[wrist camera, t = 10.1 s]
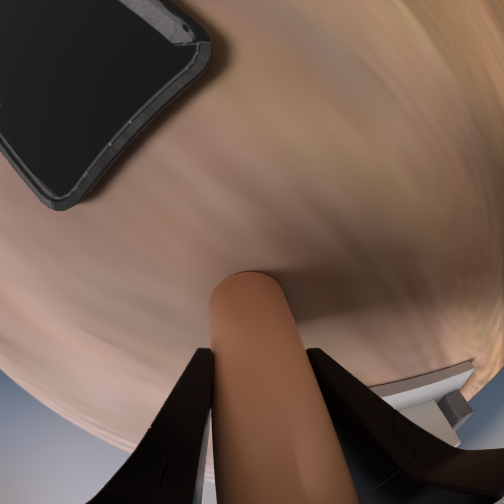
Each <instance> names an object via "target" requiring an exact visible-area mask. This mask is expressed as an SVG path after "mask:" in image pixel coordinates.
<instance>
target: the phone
mask: <svg viewBox="0 0 504 504" xmlns="http://www.w3.org/2000/svg"><path fill="white" fill-rule="evenodd" d="M211 54H212V48H211V43H210V39H209V36H208V35H207V33H206V32H205V31H204V29H203V28H202V27H201V26H199V25H198V24H197V23H196V22H195V21H194V20H193V19H191V18H190V17H189V16H188V15H187V14H185V13H184V12H183V11H182V10H181V9H179V8H178V7H177V6H176V5H174V4H173V3H172V2H171V1H169V0H0V151H1V152H2V154H3V155H4V156H5V158H6V159H7V160H8V162H9V163H10V164H11V166H12V167H13V168H14V170H15V171H16V172H17V173H18V175H19V176H20V177H21V178H22V179H23V181H24V182H25V183H26V184H27V186H28V187H29V188H30V189H31V190H32V191H33V193H34V194H35V195H36V196H37V197H38V198H39V200H40V201H41V202H42V203H43V204H44V205H46V206H47V207H48V208H50V209H53V210H56V211H65V210H67V209H69V208H71V207H73V206H75V205H76V204H78V203H80V202H81V201H82V200H83V199H84V198H85V197H87V196H88V194H89V193H90V192H91V190H92V189H93V188H94V187H95V185H96V184H97V183H98V182H99V180H100V179H101V178H102V177H103V175H104V174H105V173H106V172H107V170H108V169H109V168H110V167H111V166H112V165H113V163H114V162H115V161H116V160H117V159H118V158H119V156H120V155H121V154H122V153H123V152H124V151H125V150H126V149H127V147H128V146H129V145H130V144H131V143H132V142H133V141H134V140H135V139H136V138H137V137H138V136H139V135H140V134H141V133H142V131H143V130H144V129H145V128H146V127H147V126H148V125H149V124H150V123H151V122H152V121H153V120H154V119H155V118H156V117H157V116H159V115H160V114H161V113H162V112H163V111H164V110H165V109H166V108H167V107H168V106H169V105H170V104H171V103H172V102H173V101H175V100H176V99H177V98H178V97H179V96H180V95H181V94H182V93H184V92H185V91H186V90H187V89H188V88H189V87H191V86H192V85H193V84H194V83H195V82H196V81H198V80H199V79H200V78H201V77H202V75H203V74H204V73H205V72H206V71H207V69H208V67H209V65H210V62H211ZM94 184H95V185H94ZM93 185H94V186H93Z"/></svg>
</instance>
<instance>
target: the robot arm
mask: <svg viewBox="0 0 504 504" xmlns="http://www.w3.org/2000/svg"><path fill="white" fill-rule="evenodd" d="M306 353H307V355H308V358H309V361H310V363H311V366H312V369H313V371H314V374H315V377H316V380H317V382H318V385H319V388H320V390H321V393H322V396H323V399H324V401H325V404H326V407H327V410H328V412H329V415H330V418H331V421H332V423H333V426H334V429H335V432H336V435H337V437H338V440H339V443H340V446H341V449H342V451H343V454H344V457H345V460H346V463H347V466H348V468H349V471H350V474H351V477H352V480H353V483H354V486H355V489H356V492H357V494H358V497H359V500H360V503H361V504H504V448H500V449H485V450H463V449H459V448H456V447H454V446H452V445H450V444H448V443H446V442H445V441H443V440H441V439H439V438H438V437H436V436H434V435H433V434H431V433H429V432H428V431H426V430H424V429H423V428H421V427H420V426H418V425H417V424H415V423H414V422H412V421H411V420H409V419H408V418H407V417H405V416H404V415H403V414H401V413H400V412H399V411H397V410H396V409H394V408H393V407H392V406H391V405H390V404H388V403H387V402H386V401H384V400H383V399H382V398H381V397H379V396H378V395H377V394H376V393H374V392H373V391H372V390H371V389H369V388H368V387H367V386H366V385H364V384H363V383H362V382H361V381H359V380H358V379H357V378H356V377H354V376H353V375H352V374H351V373H349V372H348V371H347V370H346V369H344V368H343V367H342V366H341V365H340V364H338V363H337V362H336V361H335V360H333V359H332V358H331V357H330V356H329V355H327V354H326V353H325V352H324V351H323V350H321V349H320V348H308V349H307V350H306ZM212 381H213V372H212V350H211V349H210V348H198V349H197V350H196V352H195V353H194V355H193V357H192V358H191V360H190V362H189V363H188V365H187V367H186V368H185V370H184V371H183V373H182V375H181V376H180V378H179V380H178V381H177V383H176V385H175V386H174V388H173V390H172V391H171V393H170V394H169V396H168V398H167V399H166V401H165V403H164V404H163V406H162V408H161V409H160V411H159V413H158V414H157V416H156V417H155V419H154V421H153V422H152V424H151V428H149V429H148V430H147V432H146V434H145V435H144V437H143V438H142V440H141V441H140V443H139V444H138V446H137V447H136V449H135V450H134V452H133V453H132V454H131V455H130V457H129V458H128V459H127V460H126V462H125V463H124V464H123V465H122V466H121V468H120V469H119V470H118V471H117V472H116V473H115V474H114V476H113V477H112V478H111V479H110V480H109V481H108V482H107V483H106V485H105V486H104V487H103V488H102V489H101V490H100V491H99V492H98V493H97V495H95V496H94V497H93V498H92V499H91V500H90V501H88V502H87V503H85V504H201V502H202V492H203V482H204V473H205V463H206V454H207V445H208V437H209V428H210V419H211V397H212Z"/></svg>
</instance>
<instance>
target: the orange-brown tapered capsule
mask: <svg viewBox="0 0 504 504" xmlns="http://www.w3.org/2000/svg"><path fill="white" fill-rule="evenodd" d="M209 334H210V349H211V350H212V372H213V381H212V397H211V420H212V441H213V458H214V473H215V486H216V498H217V504H361V503H360V500H359V497H358V494H357V492H356V489H355V486H354V483H353V480H352V477H351V474H350V471H349V468H348V466H347V463H346V460H345V457H344V454H343V451H342V449H341V446H340V443H339V440H338V437H337V435H336V432H335V429H334V426H333V423H332V421H331V418H330V415H329V412H328V410H327V407H326V404H325V401H324V399H323V396H322V393H321V390H320V388H319V385H318V382H317V380H316V377H315V374H314V371H313V369H312V366H311V363H310V361H309V358H308V355H307V353H306V350H305V347H304V345H303V342H302V339H301V337H300V334H299V331H298V329H297V326H296V324H295V321H294V318H293V316H292V313H291V310H290V308H289V305H288V303H287V300H286V297H285V295H284V292H283V290H282V288H281V286H280V285H279V284H278V282H276V281H275V280H274V279H273V278H271V277H269V276H267V275H265V274H262V273H257V272H243V273H238V274H235V275H232V276H230V277H228V278H226V279H225V280H223V281H222V282H221V283H220V284H218V285H217V287H216V288H215V289H214V291H213V293H212V295H211V298H210V312H209Z"/></svg>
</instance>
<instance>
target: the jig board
mask: <svg viewBox="0 0 504 504" xmlns="http://www.w3.org/2000/svg"><path fill="white" fill-rule="evenodd" d="M474 369H475V367H474V366H473V364H472V363H471V362H470V361H467V362H464V363H461V364H458V365H456V366H452V367H449V368H446V369H443V370H440V371H436V372H433V373H430V374H426V375H422V376H419V377H415V378H411V379H407V380H403V381H399V382H394V383H390V384H385V385H380V386H375V387H370V388H369V389H371V390H372V391H373V392H374V393H376V394H377V395H378V396H379V397H381V398H382V399H383V400H384V401H386V402H387V403H388V404H390V405H391V406H392V407H393V408H394V409H396V410H397V411H399V410H403V409H406V408H410V407H413V406H416V405H419V404H423V403H426V402H429V401H432V400H434V401H435V402H436V404H437V405H438V407H439V408H440V410H441V411H442V413H443V415H444V416H445V418H446V419H447V421H448V423H449V424H450V426H451V427H452V429H453V431H454V432H455V431H456V430H457V429H458V428H459V427H460V426H461V425H462V424H463V423H464V422H465V420H466V419H467V418H468V417H469V416H470V415H471V414H472V413H473V410H472V408H471V407H470V406H469V404H468V403H467V401H466V400H465V398H464V397H463V396H462V394H461V393H460V391H459V390H460V388H461V387H462V386H463V384H464V383H465V382H466V380H467V379H468V377H469V376H470V375H471V373H472V372H473V370H474Z"/></svg>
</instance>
